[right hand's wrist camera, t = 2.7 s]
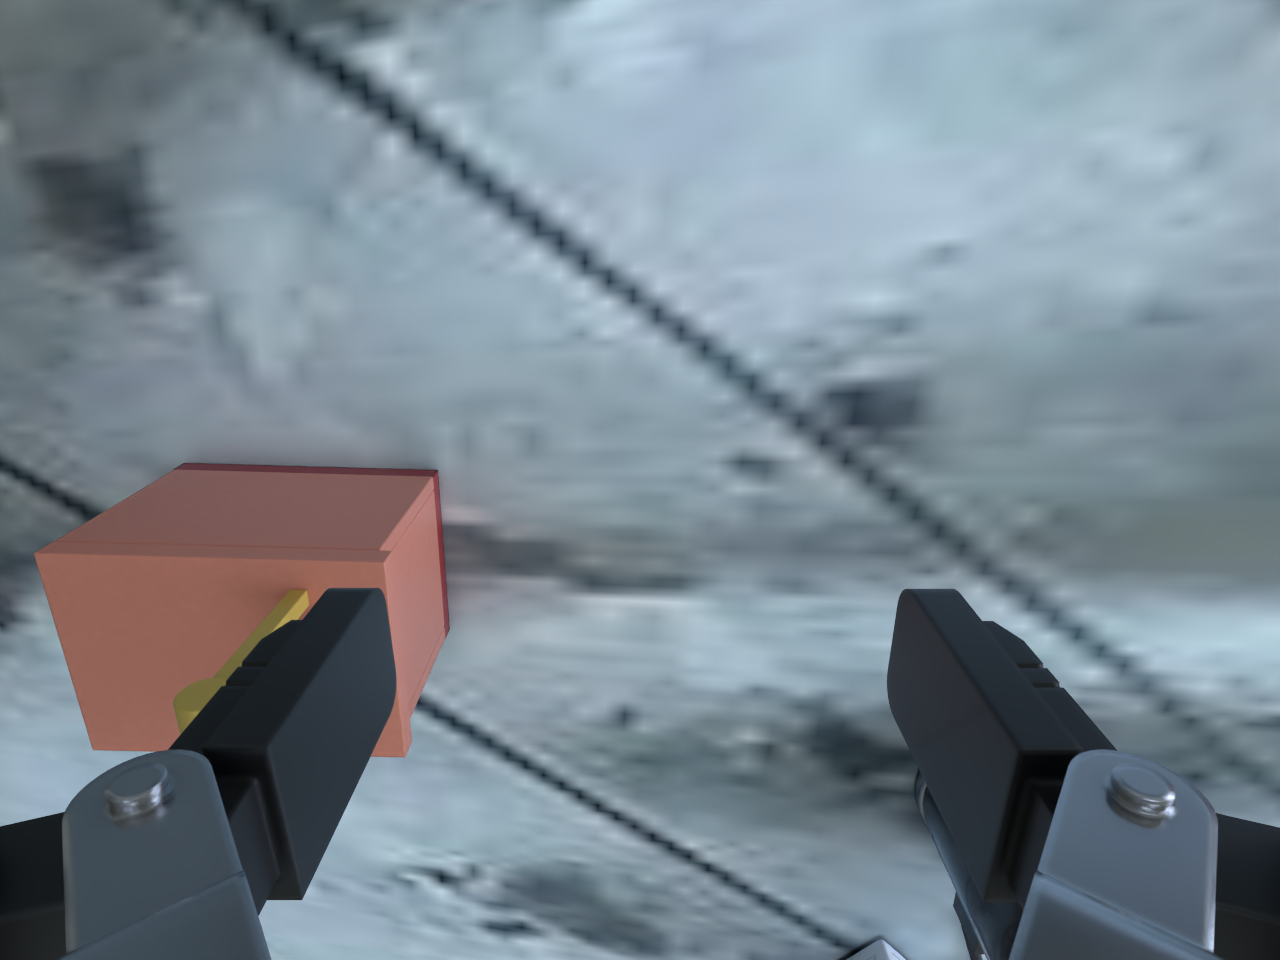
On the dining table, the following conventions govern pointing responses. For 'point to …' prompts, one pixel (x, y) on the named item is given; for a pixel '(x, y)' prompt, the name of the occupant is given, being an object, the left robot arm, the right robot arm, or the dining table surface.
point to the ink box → (877, 952)
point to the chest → (304, 529)
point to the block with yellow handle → (190, 627)
